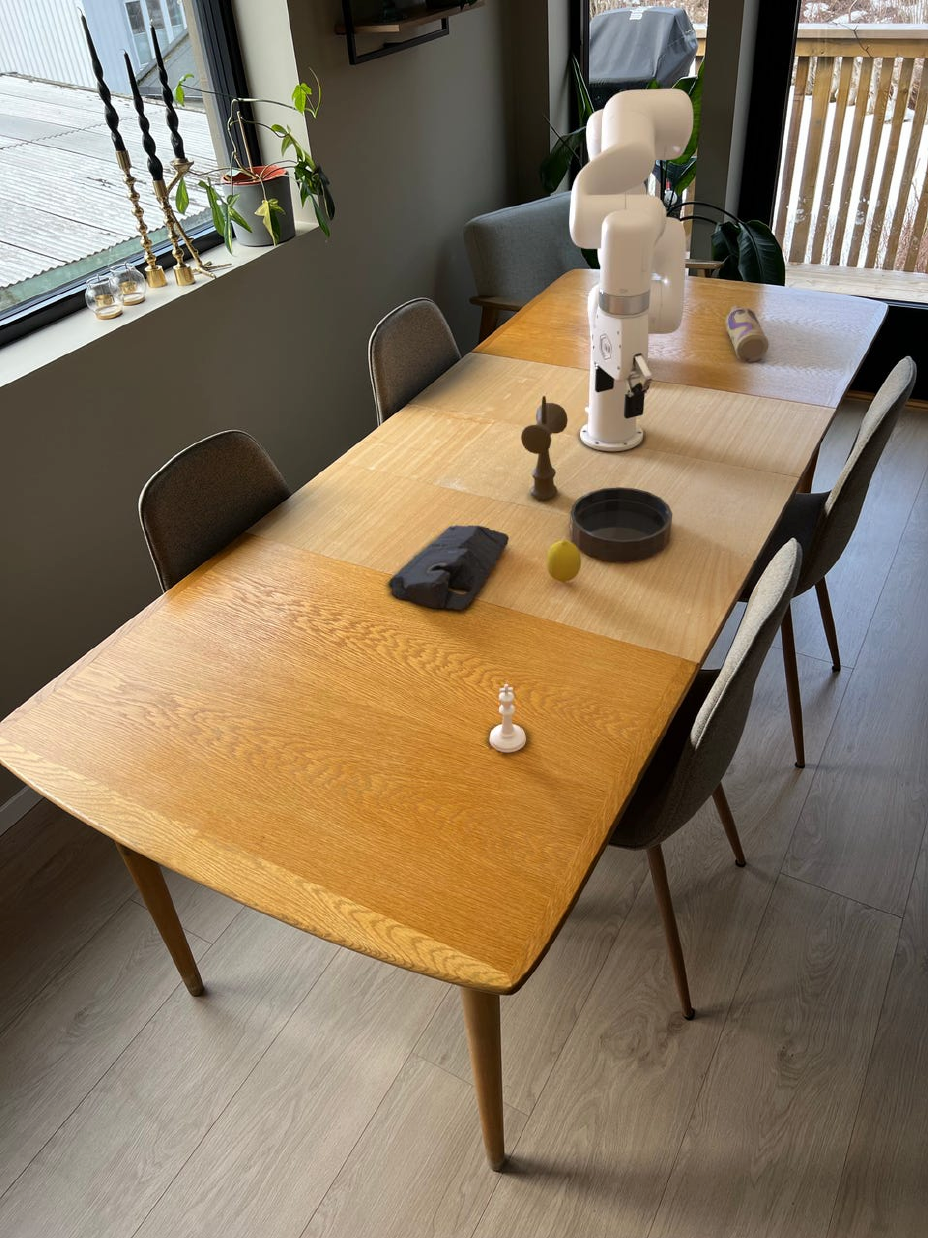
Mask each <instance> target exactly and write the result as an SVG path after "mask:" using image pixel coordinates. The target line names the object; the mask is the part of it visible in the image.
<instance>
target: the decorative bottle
mask: <svg viewBox="0 0 928 1238" xmlns="http://www.w3.org/2000/svg"><path fill="white" fill-rule="evenodd" d="M724 321H725V322H724V324H725V325H724V327H725V328H726V330H727V333H728V335H729V339H730V340H731V343H732V346H733V348H734V351H735V354H736V356H737V358H738V359H739V360H741V361H743V362H745V363H751V362H756V361H759V360H761V358H764V357H765V355H766V354H767V352H768V351H769V345H770V343H769V339H768V337H766V335H765V333H764V330H763V329H762V327H761V324H760V323H759V320H758V319H757V316H756V314H755V313H754V312H753V310H751V309H750V308H747V307H741V306H739V305H738V304H735V305H733V306H732V307H730V310H729V313H728V314H727V316H726V318H725V320H724Z"/></svg>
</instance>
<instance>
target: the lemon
mask: <svg viewBox="0 0 928 1238" xmlns="http://www.w3.org/2000/svg"><path fill="white" fill-rule="evenodd" d="M581 565H582V559H581V553H580V549H579V548H578V547H577V546H576V545H575V544H574V543H573V542H572V541H569V540H565V539H564V540H559V541H555V542H554V543H553V544H552V545H551V547H550V548H549V549H548V551H547V555H546V569H547V572H548V574H549V575H550V577H552V579H554V580H555V581H557V582H560V583H566V582H570V581H573V579H575V578H576V577H577V576H578V574H579V572H580V570H581V567H582V566H581Z"/></svg>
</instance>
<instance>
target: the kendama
mask: <svg viewBox="0 0 928 1238" xmlns="http://www.w3.org/2000/svg"><path fill="white" fill-rule="evenodd" d="M535 420H536V424H530V425H528V426H525V427H524V428H523V430H522V431H521V435H520V440H521V445H522V446H523V448H524V449H525V450H526V451H527V452H529V453H531V454H534V455H537V461H536V465H535V467H534V469H533V470H532V471H531V476H532V478H533V486H531V488H530V489H529V493H530V496H531V497H532V498H534V499H536V500H539V501H546V500H551V499H554V497H556V496H557V494H558V488H557V486H556V485H555V482H554V477H555V476H556V473H557V472H556V469H555V468H554V467H553V465H552V462H551V461H552V460H551V455H550V448H551V445H552V434H553V435H554V434H555V435H556V434H560V433H562V432H564V431H565V429H566V428H567V425H568V422H569V420H568V413H567V411H566V410H565V409H564V408H563V407H562V406H561V405H559V404H557V403H554V402H547V397H546V396H545V395H543V396H542V397H541V405H540V406H538V408H537V410H536V414H535Z"/></svg>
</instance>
